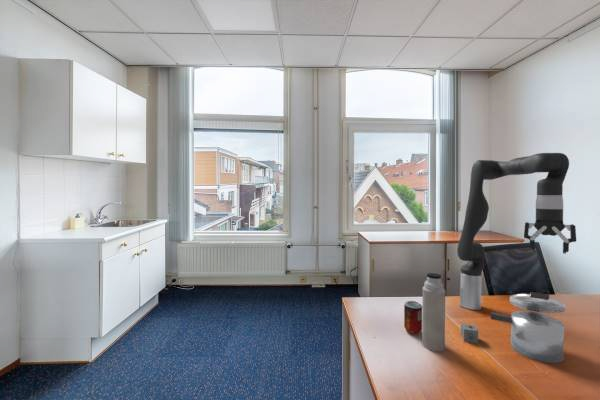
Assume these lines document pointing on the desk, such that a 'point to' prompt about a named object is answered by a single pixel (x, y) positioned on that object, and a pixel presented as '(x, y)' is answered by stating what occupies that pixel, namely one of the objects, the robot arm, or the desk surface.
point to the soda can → (413, 317)
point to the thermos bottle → (433, 313)
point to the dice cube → (469, 333)
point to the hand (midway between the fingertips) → (548, 251)
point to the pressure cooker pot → (535, 335)
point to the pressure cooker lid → (537, 303)
